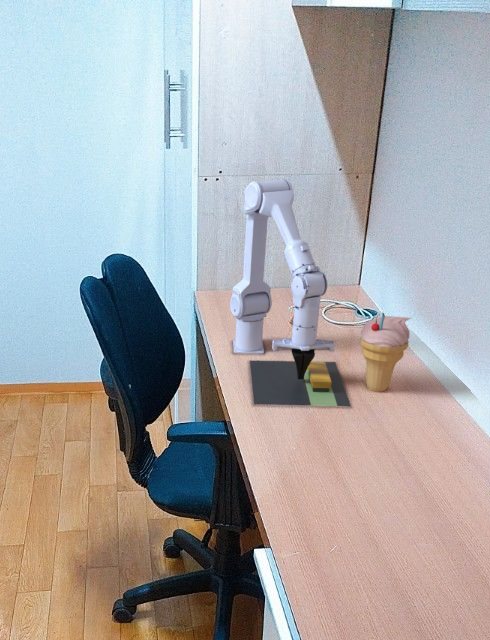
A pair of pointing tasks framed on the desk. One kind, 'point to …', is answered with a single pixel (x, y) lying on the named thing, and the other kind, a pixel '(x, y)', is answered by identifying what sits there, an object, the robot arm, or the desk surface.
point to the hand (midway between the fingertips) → (300, 377)
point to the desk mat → (293, 385)
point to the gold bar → (319, 377)
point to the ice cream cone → (383, 349)
